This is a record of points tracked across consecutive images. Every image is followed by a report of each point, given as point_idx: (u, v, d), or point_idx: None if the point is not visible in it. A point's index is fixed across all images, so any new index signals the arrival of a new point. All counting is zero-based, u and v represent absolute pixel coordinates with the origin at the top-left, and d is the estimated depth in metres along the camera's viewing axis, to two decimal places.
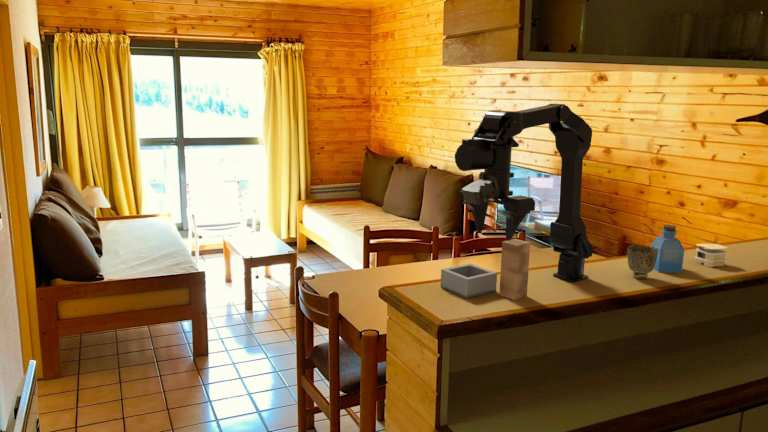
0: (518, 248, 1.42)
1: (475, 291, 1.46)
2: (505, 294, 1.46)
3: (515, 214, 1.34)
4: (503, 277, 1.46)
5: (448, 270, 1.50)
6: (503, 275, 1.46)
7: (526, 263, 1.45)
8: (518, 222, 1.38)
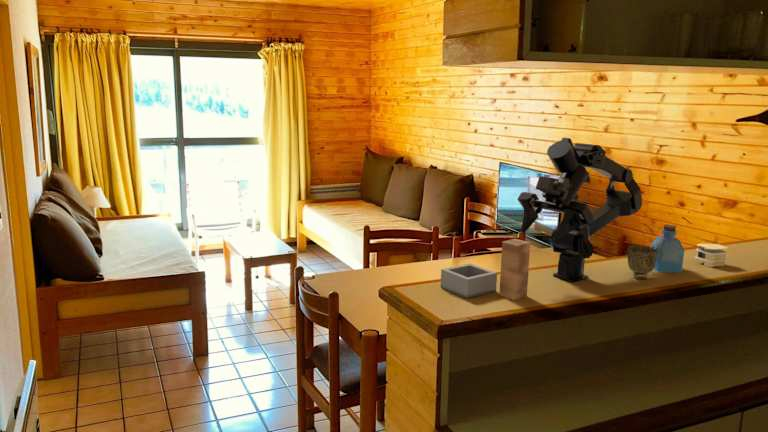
0: (518, 248, 1.42)
1: (475, 291, 1.46)
2: (505, 294, 1.46)
3: (577, 214, 1.44)
4: (503, 277, 1.46)
5: (448, 270, 1.50)
6: (503, 275, 1.46)
7: (526, 263, 1.45)
8: (569, 229, 1.47)
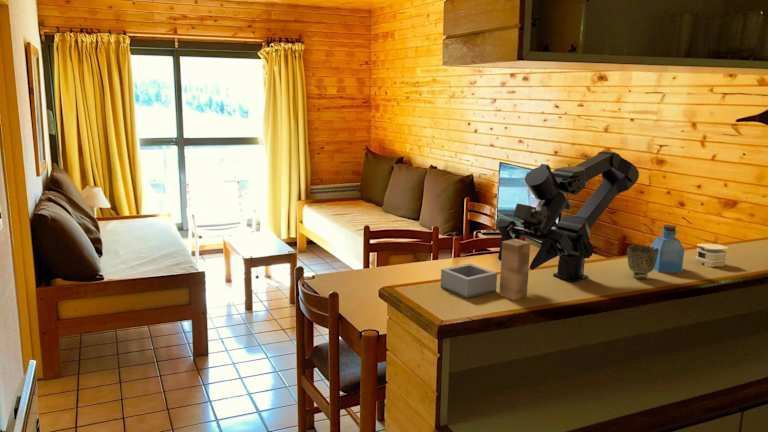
0: (518, 248, 1.42)
1: (475, 291, 1.46)
2: (505, 294, 1.46)
3: (554, 243, 1.40)
4: (503, 277, 1.46)
5: (448, 270, 1.50)
6: (503, 275, 1.46)
7: (526, 263, 1.45)
8: (547, 258, 1.43)
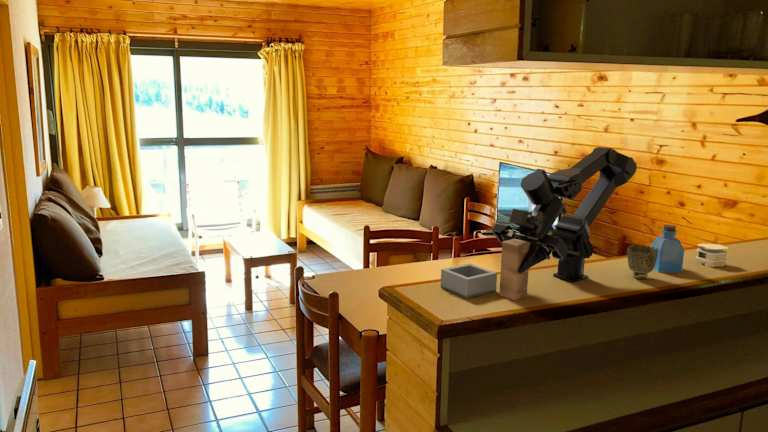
0: (518, 248, 1.42)
1: (475, 291, 1.46)
2: (505, 294, 1.46)
3: (542, 247, 1.41)
4: (503, 277, 1.46)
5: (448, 270, 1.50)
6: (503, 275, 1.46)
7: None
8: (535, 262, 1.44)
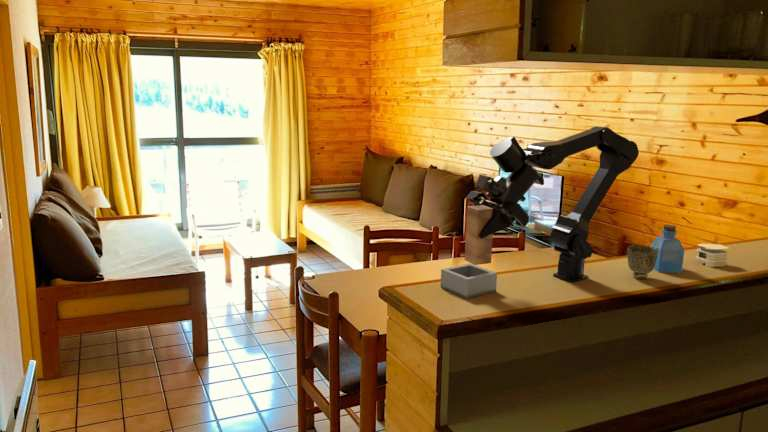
0: (478, 212, 1.43)
1: (475, 291, 1.46)
2: (468, 258, 1.48)
3: (502, 213, 1.41)
4: (467, 242, 1.48)
5: (448, 270, 1.50)
6: (467, 240, 1.47)
7: None
8: (498, 228, 1.44)
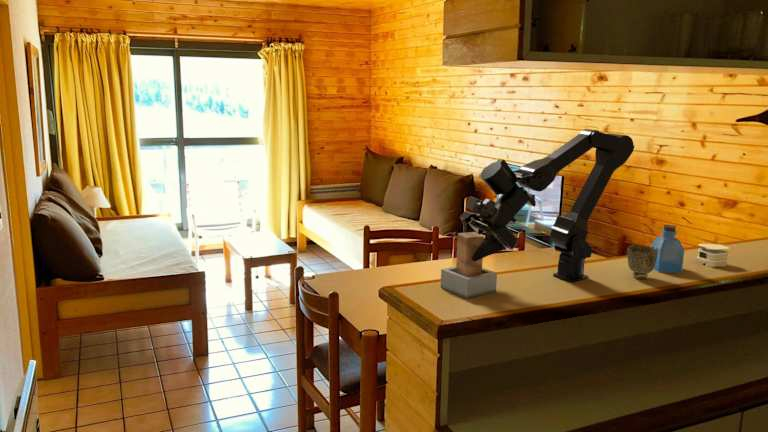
0: (467, 240, 1.46)
1: (475, 291, 1.46)
2: None
3: (494, 237, 1.42)
4: (458, 268, 1.50)
5: (448, 270, 1.50)
6: (458, 266, 1.50)
7: None
8: (490, 251, 1.45)
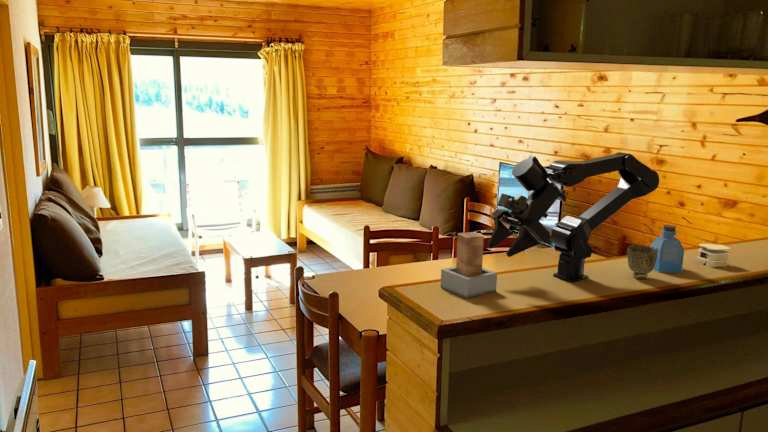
0: (467, 240, 1.46)
1: (475, 291, 1.46)
2: None
3: (528, 231, 1.44)
4: (458, 268, 1.50)
5: (448, 270, 1.50)
6: (458, 266, 1.50)
7: (479, 256, 1.48)
8: (525, 247, 1.47)
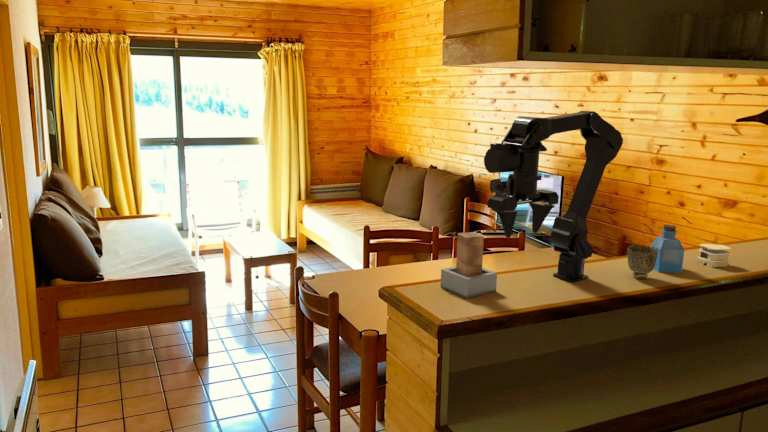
0: (467, 240, 1.46)
1: (475, 291, 1.46)
2: None
3: (493, 209, 1.47)
4: (458, 268, 1.50)
5: (448, 270, 1.50)
6: (458, 266, 1.50)
7: (479, 256, 1.48)
8: (508, 222, 1.46)
